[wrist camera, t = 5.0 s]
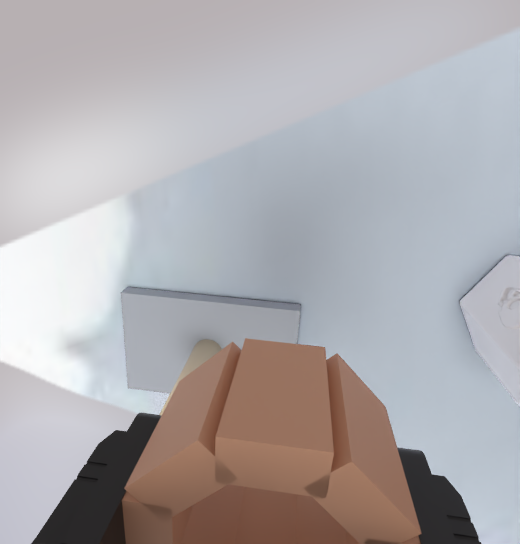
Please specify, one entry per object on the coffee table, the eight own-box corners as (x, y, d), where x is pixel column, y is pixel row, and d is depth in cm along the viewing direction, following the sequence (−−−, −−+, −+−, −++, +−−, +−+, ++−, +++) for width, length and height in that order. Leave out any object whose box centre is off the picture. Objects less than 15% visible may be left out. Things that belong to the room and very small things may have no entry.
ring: (401, 355, 10) (449, 468, 6) (365, 521, 12) (387, 670, 9) (173, 329, 10) (111, 422, 7) (177, 493, 12) (130, 623, 9)
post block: (300, 304, 30) (299, 374, 21) (290, 398, 33) (285, 493, 24) (127, 286, 31) (59, 346, 22) (133, 379, 34) (76, 463, 25)
